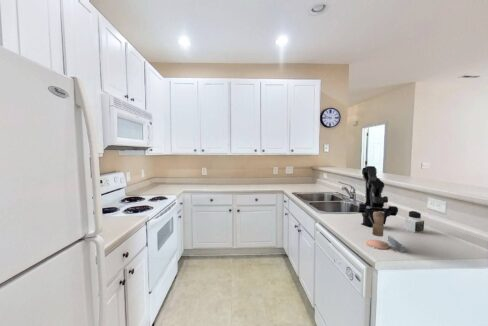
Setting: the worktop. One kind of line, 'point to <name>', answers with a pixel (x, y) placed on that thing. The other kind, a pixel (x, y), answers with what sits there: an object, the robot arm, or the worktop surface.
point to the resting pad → (377, 244)
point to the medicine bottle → (414, 222)
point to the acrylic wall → (396, 244)
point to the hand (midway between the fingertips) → (378, 223)
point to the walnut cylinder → (378, 224)
